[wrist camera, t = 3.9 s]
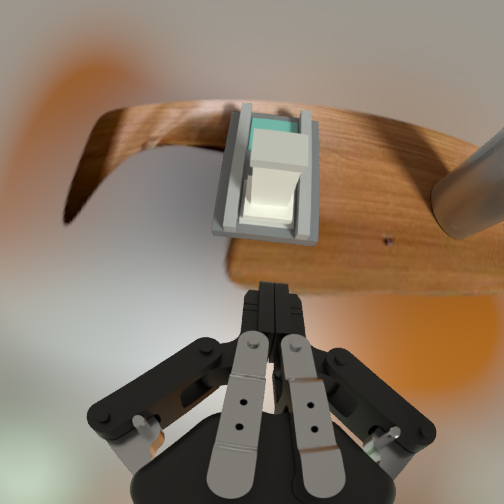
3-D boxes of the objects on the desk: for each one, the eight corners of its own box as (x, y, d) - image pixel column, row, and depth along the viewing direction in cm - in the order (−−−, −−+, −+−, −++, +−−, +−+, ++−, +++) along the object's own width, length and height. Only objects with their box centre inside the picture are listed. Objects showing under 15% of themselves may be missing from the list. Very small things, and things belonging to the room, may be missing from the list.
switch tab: (247, 180, 29) (249, 119, 19) (292, 185, 29) (313, 127, 19) (243, 219, 28) (242, 168, 18) (290, 224, 28) (313, 177, 18)
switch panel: (232, 120, 34) (231, 102, 30) (315, 130, 34) (321, 112, 30) (213, 235, 30) (209, 224, 27) (313, 246, 30) (322, 236, 27)
